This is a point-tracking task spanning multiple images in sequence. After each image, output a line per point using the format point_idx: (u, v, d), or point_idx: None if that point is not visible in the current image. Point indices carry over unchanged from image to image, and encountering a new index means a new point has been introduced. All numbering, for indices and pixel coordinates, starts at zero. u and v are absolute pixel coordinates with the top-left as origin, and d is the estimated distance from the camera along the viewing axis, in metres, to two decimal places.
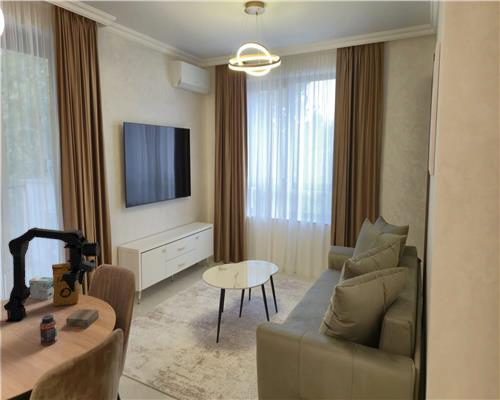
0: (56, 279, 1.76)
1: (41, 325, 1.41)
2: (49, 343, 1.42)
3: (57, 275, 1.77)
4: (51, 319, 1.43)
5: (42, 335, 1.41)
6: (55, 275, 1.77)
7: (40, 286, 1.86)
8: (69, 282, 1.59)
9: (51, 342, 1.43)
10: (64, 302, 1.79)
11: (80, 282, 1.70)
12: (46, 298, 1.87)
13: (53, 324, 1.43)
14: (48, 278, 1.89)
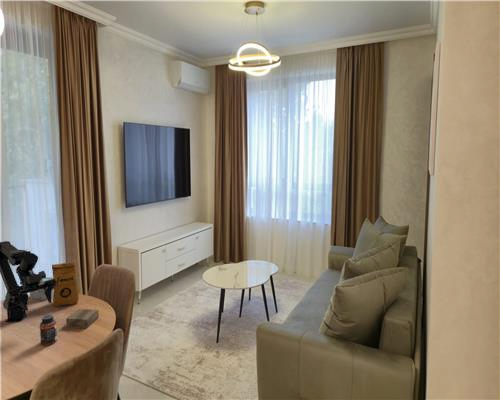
0: (56, 279, 1.76)
1: (41, 325, 1.41)
2: (49, 343, 1.42)
3: (57, 275, 1.77)
4: (51, 319, 1.43)
5: (42, 335, 1.41)
6: (55, 275, 1.77)
7: None
8: (18, 302, 1.45)
9: (51, 342, 1.43)
10: (64, 302, 1.79)
11: (49, 301, 1.52)
12: (46, 298, 1.87)
13: (53, 324, 1.43)
14: (48, 278, 1.89)
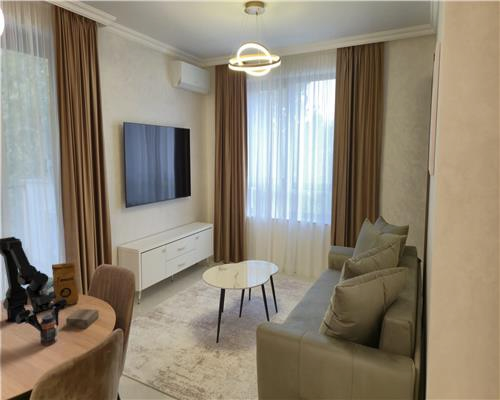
0: (56, 279, 1.76)
1: (41, 325, 1.41)
2: (49, 343, 1.42)
3: (57, 275, 1.77)
4: (51, 319, 1.43)
5: (42, 335, 1.41)
6: (55, 275, 1.77)
7: None
8: (32, 322, 1.42)
9: (51, 342, 1.43)
10: None
11: (56, 323, 1.46)
12: None
13: (53, 324, 1.43)
14: (48, 278, 1.89)
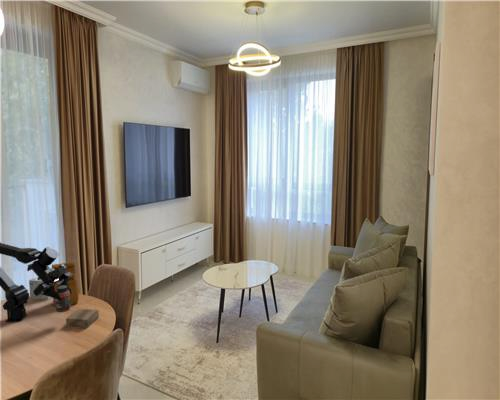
0: None
1: (59, 294, 1.56)
2: (66, 309, 1.58)
3: None
4: (66, 288, 1.59)
5: (60, 303, 1.56)
6: None
7: None
8: (49, 293, 1.55)
9: (68, 308, 1.59)
10: None
11: None
12: (46, 298, 1.87)
13: (69, 292, 1.59)
14: None
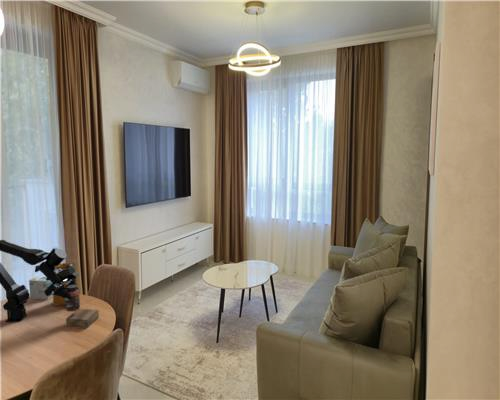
0: None
1: (69, 293, 1.58)
2: (77, 308, 1.61)
3: None
4: (76, 287, 1.61)
5: (71, 302, 1.59)
6: None
7: (40, 286, 1.86)
8: (60, 293, 1.57)
9: (78, 307, 1.61)
10: (64, 302, 1.79)
11: None
12: (46, 298, 1.87)
13: (78, 291, 1.62)
14: None
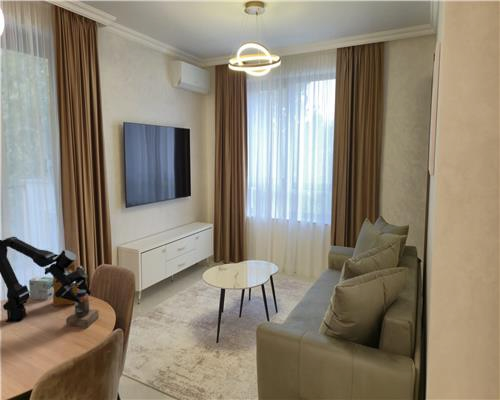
0: (56, 279, 1.76)
1: (79, 298, 1.58)
2: (86, 313, 1.61)
3: None
4: (85, 292, 1.61)
5: (80, 307, 1.59)
6: None
7: (40, 286, 1.86)
8: (68, 296, 1.55)
9: (87, 312, 1.61)
10: (64, 302, 1.79)
11: (88, 292, 1.65)
12: (46, 298, 1.87)
13: None
14: (48, 278, 1.89)
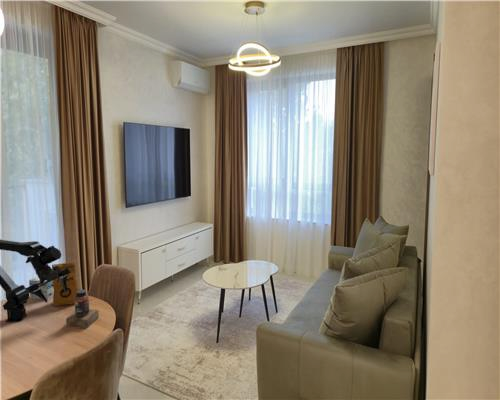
0: (56, 279, 1.76)
1: (79, 298, 1.58)
2: (86, 313, 1.61)
3: None
4: (85, 292, 1.61)
5: (80, 307, 1.59)
6: None
7: None
8: (38, 294, 1.57)
9: (87, 312, 1.61)
10: (64, 302, 1.79)
11: (65, 289, 1.64)
12: (46, 298, 1.87)
13: None
14: None
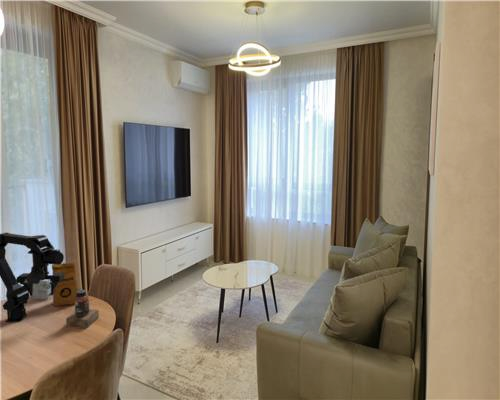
0: None
1: (79, 298, 1.58)
2: (86, 313, 1.61)
3: None
4: (85, 292, 1.61)
5: (80, 307, 1.59)
6: None
7: (40, 286, 1.86)
8: (28, 284, 1.60)
9: (87, 312, 1.61)
10: (64, 302, 1.79)
11: None
12: (46, 298, 1.87)
13: None
14: None
